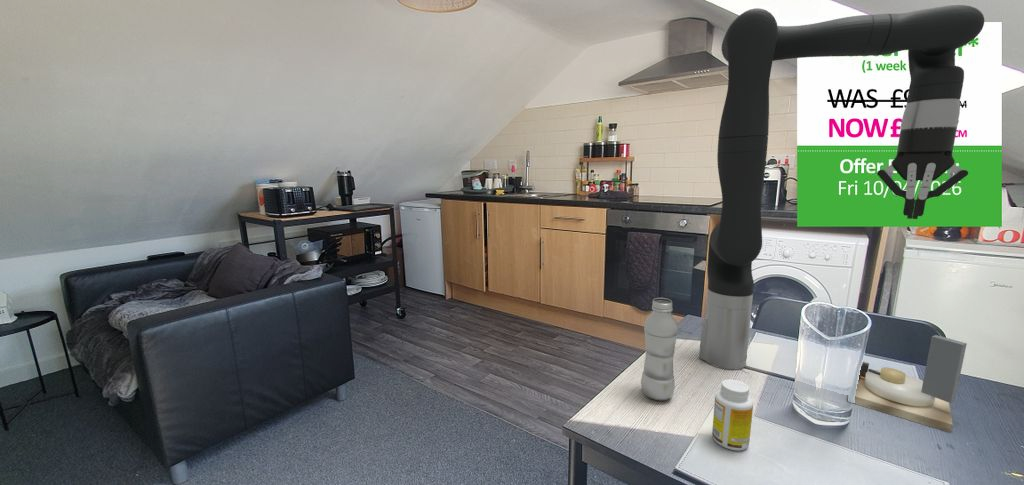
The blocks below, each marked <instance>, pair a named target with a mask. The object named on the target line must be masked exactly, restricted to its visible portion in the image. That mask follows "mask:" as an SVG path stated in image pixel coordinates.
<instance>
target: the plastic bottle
mask: <svg viewBox="0 0 1024 485" xmlns="http://www.w3.org/2000/svg"><path fill="white" fill-rule="evenodd" d="M651 310H652V312H651V313H650V314H649V315H648V316H647V317H646V319H645V321H644V324H643V330H644V341H645V342H644V343H645V357H644V365H643V371H642V374H641V378H640V384H641V385H640V386H641V390H642V392H643V394H644V395H645V396H646V397H647V398H650V400H655V401H659V402H660V401H667V400H669V399H670V398H672V396H673V395H674V393H675V388H676V385H675V384H676V383H675V376H674V355H675V349H676V348H675V347H676V342H677V338H678V334H679V325H678V323H677V320H676V319H675V317H674V316H673V314H672V312H673V310H674V309H673V301H672V300H671V298H670V299H669V298H665V297H656V298H653V299H652V306H651Z"/></svg>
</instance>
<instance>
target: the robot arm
mask: <svg viewBox="0 0 1024 485" xmlns="http://www.w3.org/2000/svg"><path fill="white" fill-rule="evenodd" d="M984 16H985V15H984V14H983V12H982V11H981V10H979V9H978V8H976V7H973V6H971V5H964V4H955V5H954V4H953V5H944V6H943V5H942V6H936V7H932V8H925V9H919V10H915V11H909V12H904V13H903V12H902V13H879V14H878V13H877V14H865V15H863V14H862V15H852V16H847V17H846V16H845V17H840V18H836V19H835V18H834V19H831V20H826V21H820V22H815V23H809V24H801V25H800V24H799V25H790V26H789V25H778V22H777V20H776V17H775V16H774V15H773V14H772V13H771V12H769V11H768V10H766V9H764V8H759V7H757V8H752V9H748V10H746V11H743V13H741V14H740V15H738V16H737V17H736V18H735V19H734V20H733V21H732V22H731V23H730V25H729V27H728V28H727V30H726V32H725V35H724V37H723V39H722V43H721V53H722V56H723V58H724V59H725V61H726V62H727V63H728V64H727V69H728V72H727V73H728V79H727V80H728V82H727V90H726V96H725V99H724V100H725V101H724V105H723V109H722V113H721V118H720V125H719V129H718V137H717V138H718V140H717V154H716V156H717V158H716V160H717V171H718V177H719V178H718V179H719V184H720V191H721V204H722V205H721V214H720V221H719V223H718V224H717V225H716V226H715V227H714V228H713V229H712V231H711V232H710V235H709V242H708V252H707V253H708V255H707V268H706V269H707V292H706V295H707V296H706V304H705V306H706V307H705V318H704V319H702V321H701V331H700V343H699V355H698V356H699V357H698V358H699V359H700V360H703V361H705V362H706V363H707V364H709V365H711V366H714V367H717V368H719V369H726V370H741V369H743V368H745V367H746V365H747V359H748V348H749V347H748V346H749V337H750V326H751V318H752V317H751V316H752V307H753V298H754V297H753V296H754V291H755V290H754V289H755V282H754V278H753V271H752V266H753V261H755V260H756V259H757V258H758V257H759V255H760V253H761V250H762V248H763V229H762V228H763V227H762V196H763V188H764V183H765V181H764V180H765V173H766V172H765V171H766V163H767V155H768V144H769V127H770V125H769V123H770V122H769V121H770V79H771V72H772V66H773V62H774V61H781V60H789V59H790V60H791V59H800V58H803V59H804V58H821V57H823V58H827V57H829V58H830V57H864V56H865V57H867V56H868V57H869V56H873V57H874V56H885V55H891V54H896V53H898V52H902V51H908V52H907V56H908V71H909V75H910V82H909V87H908V93H907V100H906V105H905V109H904V112H903V115H902V120H901V123H900V129H899V130H900V131H899V138H898V144H897V149H896V150H897V151H896V156H895V157H894V159H893V160H892V161H891V164H890V165H888V166H886V167H885V168H882V169H879V170H878V171H877V172H876V174H877V175H876V176H878V177H879V178H880V179H881V181H882V182H883V183H884V185H886V186H887V188H888V189H890V191H891V192H892V194H894V195H895V196H897V197H901V198H903V199H904V205H903V206H904V207H903V209H902V210H903V211H902V214H903V216H907V217H906V219H907V220H909V219H910V220H918V218H919V217H922V216H923V215H924V212H925V206H926V201H927V200H928V199H932V198H935V197H936V198H938V197H940V196H941V195H943V194H944V193H946V192H947V191H948V190H950V188H953V186H955V185H957V184H958V183H959V182H960V181H962V180H963V179H964V178H966V177H967V176H968V175H969V171H968V170H966V169H963V168H961V167H959V166H958V165H956V162H955V161H956V160H955V158H954V157H953V153H954V145H955V140H956V134H957V128H958V125H959V121H960V120H959V119H960V113H961V112H960V111H961V108H960V107H961V97H962V92H963V87H964V80H965V70H964V68H962V66H961V67H960V66H959V65H956V50H957V49H959V48H962V47H963V46H965V45H968V44H969V43H970V42H972V41H973V40H975V39H976V37H977V36H979V35H980V33H982V30H983V28H984V26H985V17H984ZM894 170H895V172H896V173H897V174H898V175H899V176H900V178H902V180H904V181H906V188H905V190H904V189H902V188H901V187H900V186H899V185H898V184H897V183H896V181H895V180H894V179H893V176H894ZM948 170H949V171H948ZM947 171H948V173H947V177H948V179H947V180H945V181H944V182H943V183H941V184H940V185H938V186H937V187H936V188H934V189H932V190H930V188H931V185H932V182H933V181H936V180H937V179H939V178H940V177H942V175H943V174H945V173H946V172H947ZM917 181H920V187H919V190H918V194H917V197H916V199H915V196H916V195H915V193H916V182H917Z"/></svg>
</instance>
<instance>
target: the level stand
mask: <svg viewBox="0 0 1024 485" xmlns="http://www.w3.org/2000/svg"><path fill="white" fill-rule="evenodd" d="M861 363H862V364H861V365H862V366H861V370H860V375H859V380H858V384H857V389H856V395H855V404H854V405H858V406H860V407H865V408H868V409H870V410H871V409H872V410H874V411H879V412H881V413H885V414H888V415H891V416H895V417H897V418H901V419H904V420H908V421H910V422H911V421H912V422H915V423H918V424H921V425H924V426H928V427H931V428H934V429H937V430H941V431H945V432H947V433H952V430H953V425H954V424H953V418H952V413H951V406H950V403H949V402H946V401H943V400H941V399H938V398H935V402H934V404H933V405H931V406H925V407H920V406H911V405H906V404H901V403H897V402H894V401H891V400H888V399H886V398H883V397H881V396H879V395H877V394H875V393H873V392H872V391H870V390H869V389H868V388H867V387H866V386H865V384H864V382H865V376H866V372H868V369H869V366H870V363H868V362H865V361H863V362H861Z"/></svg>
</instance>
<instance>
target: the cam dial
mask: <svg viewBox="0 0 1024 485" xmlns="http://www.w3.org/2000/svg"><path fill="white" fill-rule="evenodd" d="M966 348H967V342H963V341H959V340H956V339H952V338H948V337H945V336H940V335H937V334H935V335H932V336H931V339H930V344H929V350H928V353H927V354H928V355H927V361H926V364H925V365H926V366H925V371H924V374H923V376H924V377H923V380H922V379H920V378H917V377H914V376H913V375H909V374H906V373H905V372H903V371H902V370H899V369H896V368H891V367H882V368H880V369H872V368H868V372H866V376H865V382H864V384H865V386H866V387H867V388H868V389H869V390H870V391H872V392H873V393H875V394H877V395H879V396H881V397H883V398H886V399H888V400H891V401H894V402H897V403H901V404H906V405H911V406H920V407H925V406H931V405H933V404H934V402H935V398H938V399H941V400H943V401H946V402H949V404H952V403H954V402H955V401H956V398H957V397H956V396H957V392H958V387H959V383H960V377H961V372H962V368H963V363H964V359H965V355H966V354H965V353H966Z"/></svg>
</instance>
